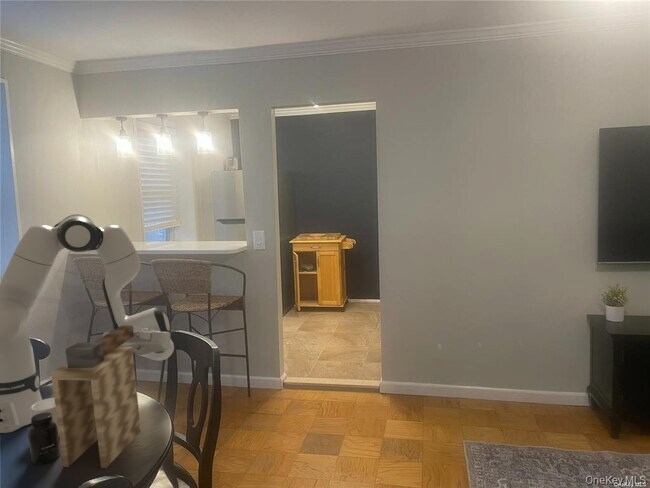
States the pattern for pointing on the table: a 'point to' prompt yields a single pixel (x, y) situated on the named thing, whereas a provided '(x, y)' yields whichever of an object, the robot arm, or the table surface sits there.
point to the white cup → (46, 408)
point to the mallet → (97, 348)
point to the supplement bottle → (43, 439)
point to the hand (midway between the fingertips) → (123, 334)
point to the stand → (97, 407)
